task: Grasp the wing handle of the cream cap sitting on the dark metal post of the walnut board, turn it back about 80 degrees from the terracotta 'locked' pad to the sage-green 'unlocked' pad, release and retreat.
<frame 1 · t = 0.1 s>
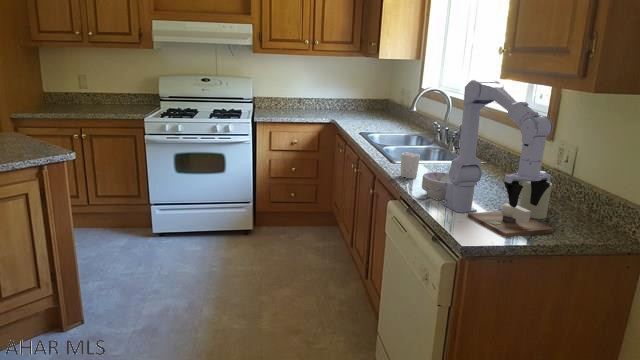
hand: (523, 205, 137), 10 cm above the counter, tool pointing down, fingers open, 7 cm apart
paper bowls: (441, 197, 177), on the counter
post board: (508, 224, 151), on the counter
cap: (515, 211, 147), point 5 cm above the counter, hinge at 0.0°
can: (531, 214, 162), on the counter
white cup: (408, 177, 205), on the counter
ink box: (531, 203, 176), on the counter
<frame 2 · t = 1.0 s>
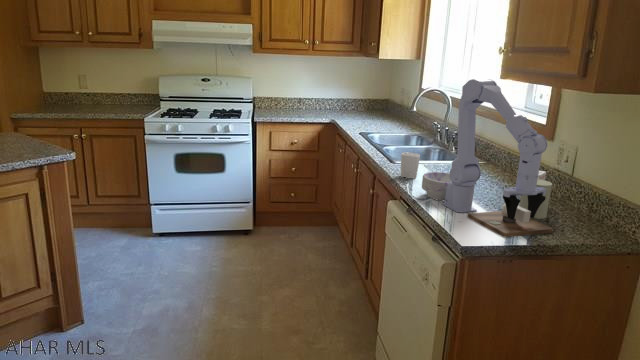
hand: (520, 217, 146), 4 cm above the counter, tool pointing down, fingers open, 7 cm apart
nothing on the counter moved.
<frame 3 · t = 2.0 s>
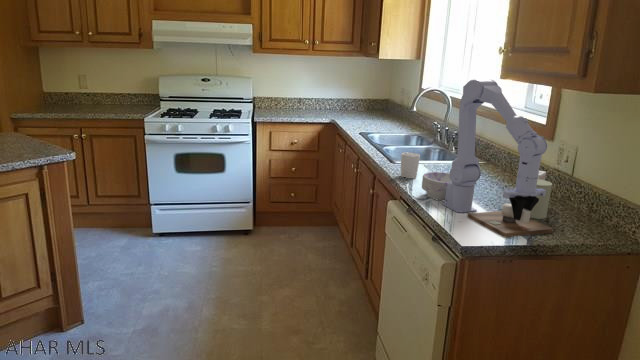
hand: (520, 219, 146), 3 cm above the counter, tool pointing down, fingers closed on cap, 2 cm apart
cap: (515, 211, 147), point 5 cm above the counter, hinge at 0.0°, touching gripper
everything else where it was.
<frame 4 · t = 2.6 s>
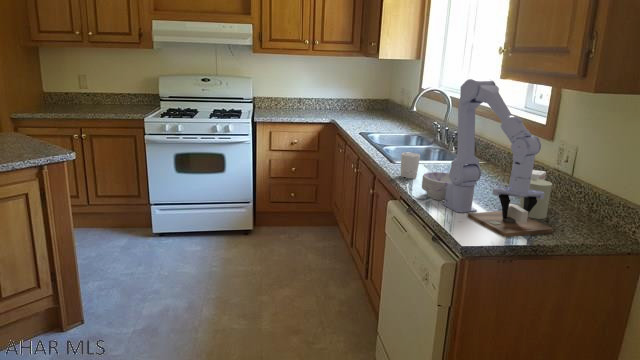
hand: (513, 218, 146), 3 cm above the counter, tool pointing down, fingers open, 5 cm apart
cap: (515, 211, 147), point 5 cm above the counter, hinge at -8.0°, touching gripper
everything else where it was.
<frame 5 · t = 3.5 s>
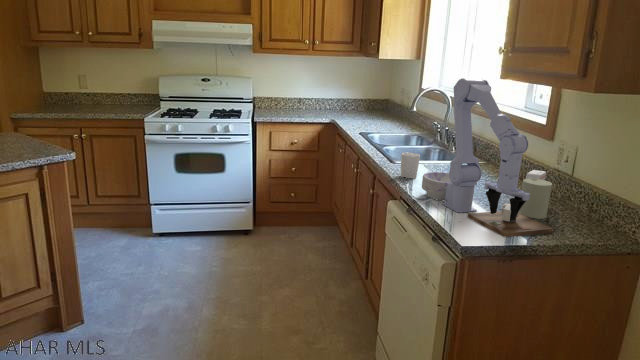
hand: (502, 216, 148), 3 cm above the counter, tool pointing down, fingers open, 6 cm apart
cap: (509, 211, 148), point 5 cm above the counter, hinge at -51.6°, touching gripper
everything else where it was.
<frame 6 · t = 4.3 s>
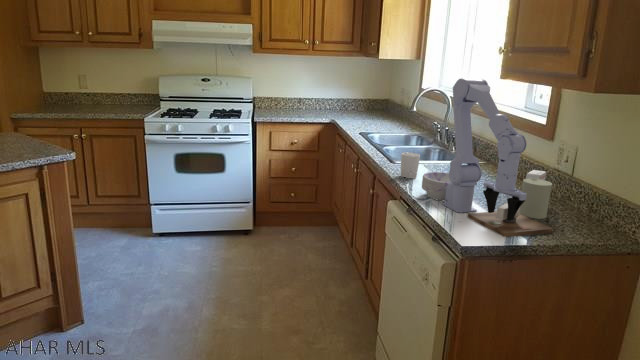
hand: (500, 216, 148), 3 cm above the counter, tool pointing down, fingers open, 7 cm apart
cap: (507, 210, 148), point 5 cm above the counter, hinge at -67.2°
everything else where it was.
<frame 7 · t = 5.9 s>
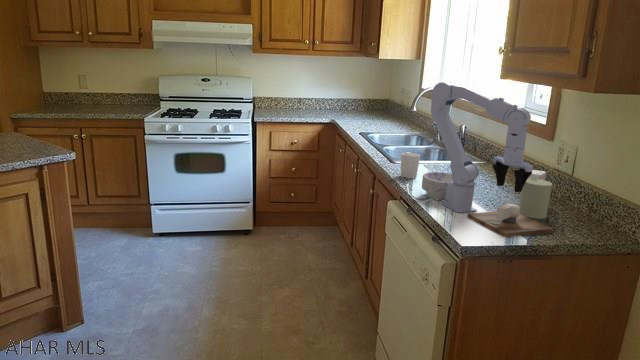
hand: (509, 188, 153), 10 cm above the counter, tool pointing down, fingers open, 7 cm apart
nothing on the counter moved.
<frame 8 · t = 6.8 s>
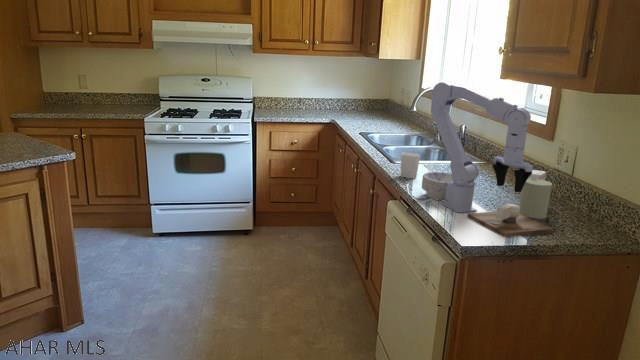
hand: (509, 188, 153), 10 cm above the counter, tool pointing down, fingers open, 7 cm apart
nothing on the counter moved.
at the end: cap at -68° (first picture: +0°); the gripper is holding nothing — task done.
